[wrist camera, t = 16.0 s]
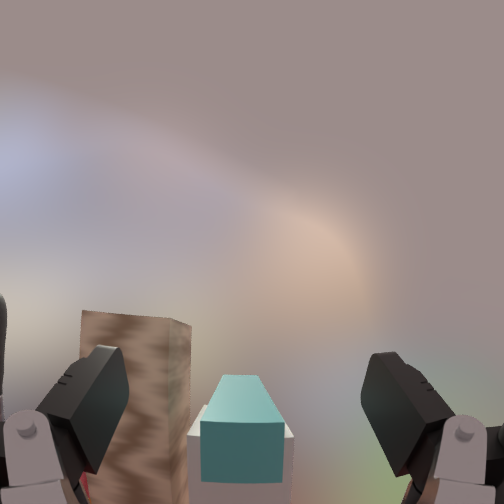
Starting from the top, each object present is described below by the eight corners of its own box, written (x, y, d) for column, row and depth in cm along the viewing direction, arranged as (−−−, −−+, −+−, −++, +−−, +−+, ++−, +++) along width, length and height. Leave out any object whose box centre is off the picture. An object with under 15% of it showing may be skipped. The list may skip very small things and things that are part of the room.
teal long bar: (201, 481, 12) (200, 420, 13) (222, 402, 33) (223, 374, 34) (282, 482, 12) (285, 422, 13) (257, 403, 33) (257, 375, 34)
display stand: (102, 548, 19) (82, 310, 28) (132, 506, 32) (126, 321, 42) (179, 566, 19) (170, 318, 29) (193, 516, 33) (191, 326, 42)
